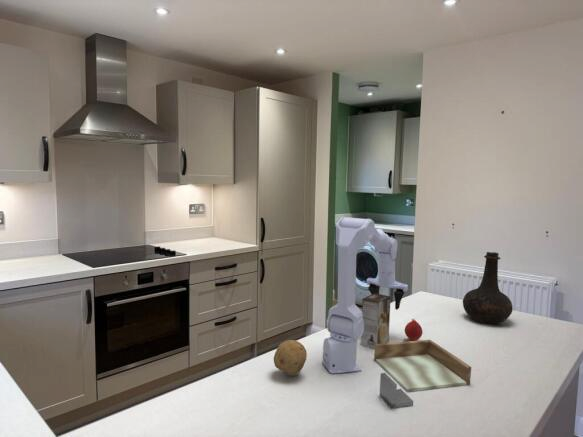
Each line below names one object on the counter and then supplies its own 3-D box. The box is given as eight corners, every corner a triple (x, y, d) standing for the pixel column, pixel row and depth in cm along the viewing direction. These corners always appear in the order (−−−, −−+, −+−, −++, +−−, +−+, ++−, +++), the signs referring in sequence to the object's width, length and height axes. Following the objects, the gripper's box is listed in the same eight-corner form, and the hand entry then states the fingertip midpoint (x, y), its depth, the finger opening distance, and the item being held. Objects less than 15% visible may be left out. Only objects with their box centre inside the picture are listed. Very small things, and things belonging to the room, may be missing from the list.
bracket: (391, 408, 97) (392, 385, 96) (379, 395, 103) (380, 373, 102) (413, 405, 99) (414, 382, 98) (400, 393, 104) (401, 371, 104)
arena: (407, 392, 105) (408, 373, 104) (374, 359, 123) (374, 344, 123) (470, 384, 110) (471, 367, 109) (429, 354, 128) (430, 339, 128)
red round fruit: (419, 338, 141) (421, 316, 141) (423, 345, 136) (424, 322, 135) (402, 337, 142) (404, 315, 141) (405, 344, 136) (407, 321, 135)
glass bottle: (452, 314, 169) (457, 248, 166) (487, 311, 174) (491, 248, 172) (484, 330, 152) (490, 257, 149) (521, 326, 157) (527, 255, 155)
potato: (277, 384, 107) (278, 348, 106) (270, 369, 115) (271, 335, 114) (309, 381, 109) (311, 345, 108) (300, 366, 118) (301, 333, 117)
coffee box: (372, 336, 142) (374, 292, 140) (389, 341, 138) (391, 296, 136) (359, 344, 134) (361, 298, 133) (377, 350, 131) (379, 302, 129)
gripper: (410, 269, 139) (410, 305, 142) (372, 263, 147) (372, 298, 150) (403, 276, 133) (403, 314, 136) (363, 270, 142) (364, 305, 145)
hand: (387, 306), depth 143 cm, fingers open, 7 cm apart
